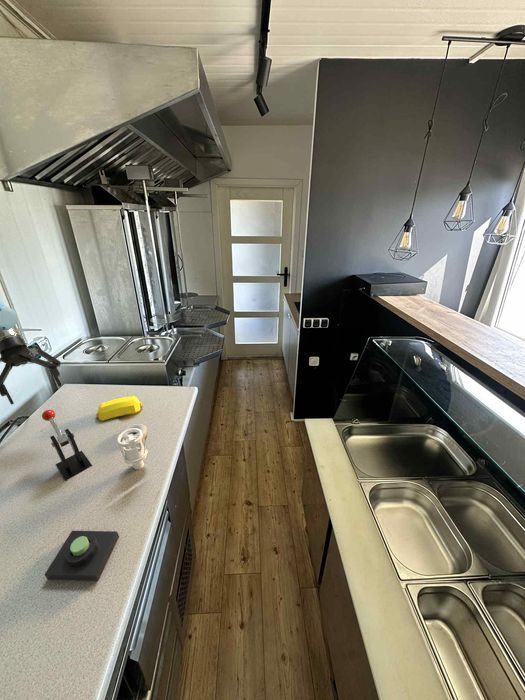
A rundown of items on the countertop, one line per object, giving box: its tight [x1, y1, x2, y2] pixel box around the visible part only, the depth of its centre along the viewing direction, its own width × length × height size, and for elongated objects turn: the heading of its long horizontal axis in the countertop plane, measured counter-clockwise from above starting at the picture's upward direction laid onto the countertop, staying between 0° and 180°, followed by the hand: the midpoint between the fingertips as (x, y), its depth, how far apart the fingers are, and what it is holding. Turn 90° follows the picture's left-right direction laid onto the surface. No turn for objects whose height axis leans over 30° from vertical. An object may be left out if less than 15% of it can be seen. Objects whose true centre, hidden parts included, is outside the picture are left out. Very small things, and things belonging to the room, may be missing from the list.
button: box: [70, 536, 90, 556], centre depth 68 cm, size 4×4×2 cm
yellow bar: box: [95, 395, 143, 421], centre depth 119 cm, size 18×7×8 cm
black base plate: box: [44, 530, 120, 582], centre depth 69 cm, size 12×10×4 cm
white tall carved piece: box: [117, 428, 149, 470], centre depth 91 cm, size 7×7×15 cm
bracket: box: [49, 428, 93, 482], centre depth 92 cm, size 10×8×14 cm
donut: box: [118, 423, 148, 442], centre depth 106 cm, size 10×4×10 cm
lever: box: [41, 409, 70, 448], centre depth 92 cm, size 14×4×4 cm, turn 50°
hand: (37, 393), depth 96 cm, fingers open, 13 cm apart
